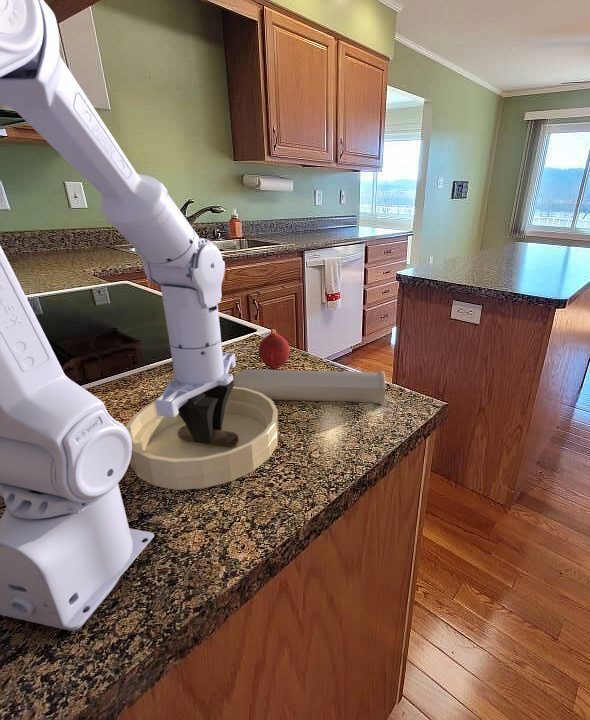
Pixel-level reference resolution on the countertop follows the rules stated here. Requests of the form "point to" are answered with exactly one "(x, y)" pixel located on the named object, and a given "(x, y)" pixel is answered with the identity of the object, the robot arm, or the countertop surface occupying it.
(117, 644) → the countertop surface
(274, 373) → the tube
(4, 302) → the robot arm
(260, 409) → the bowl
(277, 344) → the onion
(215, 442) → the stick
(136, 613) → the countertop surface
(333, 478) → the countertop surface
